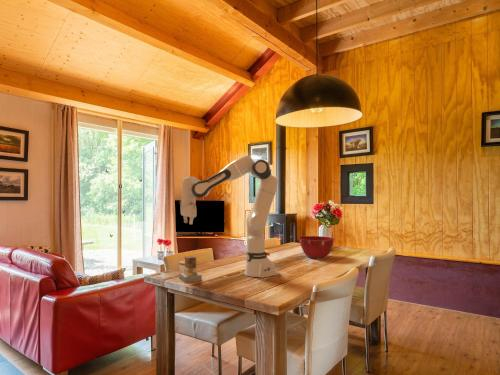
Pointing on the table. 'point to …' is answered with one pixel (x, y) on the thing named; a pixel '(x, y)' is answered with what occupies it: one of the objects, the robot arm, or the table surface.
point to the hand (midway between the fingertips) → (188, 223)
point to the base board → (190, 277)
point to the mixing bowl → (316, 246)
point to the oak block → (190, 271)
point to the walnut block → (190, 262)
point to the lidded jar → (182, 266)
